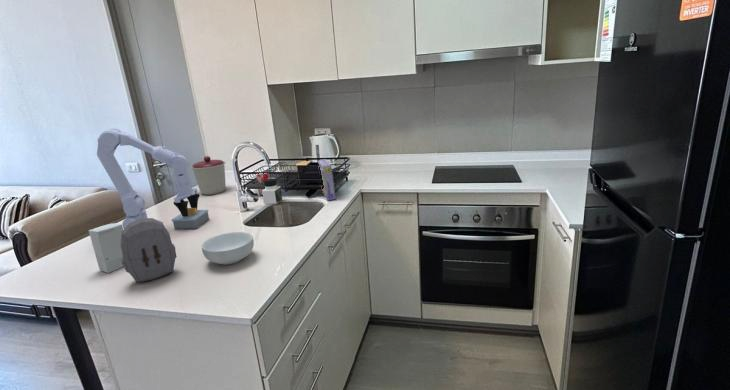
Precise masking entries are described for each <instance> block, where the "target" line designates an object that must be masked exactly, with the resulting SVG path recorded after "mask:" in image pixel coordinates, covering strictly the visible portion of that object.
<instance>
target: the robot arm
mask: <svg viewBox="0 0 730 390" xmlns="http://www.w3.org/2000/svg"><path fill="white" fill-rule="evenodd" d="M119 146H120V147H123V146H132V147H133V148H136V149H138V150H141V151H142V152H146V153H148V154H150V156H151V158H152V159H154V160H156V161H159V162H161V163H162V164H165V165H167V166H170V168H171V169H172V170H173V176H174V179H175V180H174V181H175V184H176V189H177V195H176V196H175V197H174V198H173V199H174V201H173V205H174V206H175V207H176V208H177V210H179V212H180V214H182V216H183V217H187V216H188V209H187V208H188V205H189V206H190V208H196V209H197V210H198V205H199V204H198V203H199V198H200V193H198V189H197V188H193V187H192V181H191V177H190V173H189V169H188V166H187V165H188V164H187V163H188V161H187V158H186V157H185V156H184V155H183V154H181V153H178V152H176V151H175V152H173V151H171V150H169V149H167V147H166V146H164V145H162V146H161V145H158V146H154V145H151V144H150V143H148V142H146V141H144V140H142V139H140V138H139V137H136V136H134V135H132V134H130V133H127V132H126V131H121V130H120V129H118V128H110V129H108V130H104V131H103V132H101V134H100V135H99V136H98V138H97V150H96V151H97V152H96V156H97V158H98V160H99V161H100V163H101V165H102V167H103V169H105V172H106V174H107V175H108V177H109V178H110V180H111V182H112V184H113V185H114V187H115V189H116V190H117V192H118V194H119V195H120V202H121V203H122V208H123V212H124V214H125V215H126V217H125V219H124V220H122V222H121V224H122V227H123V230H124V229H125V228H126V226H127V225H128V224H129V223H131V222H134V221H136V220H138V219H141V218H148V214H147V211H146V209H144V207H145V204H146V203H145V199H144V198H142V197H141V196H140V195H139V194H138V192H137V191H136V190H134V189H133V187H132V185H131V183H130V182H129V180H128V178H127V176H126V174H125V172H124V171H123V169H122V167H121V165H120V164H119V162H118V160H117V159H116V156H115V152H116V150H117V148H118V147H119ZM185 199H187V200H185Z"/></svg>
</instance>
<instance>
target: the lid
mask: <svg viewBox="0 0 730 390" xmlns="http://www.w3.org/2000/svg"><path fill="white" fill-rule="evenodd" d="M187 209H188V216H187V217H183V216H182V214H181V213H180V214H178V215H176V216H175V217H174V218H172V219H171V222H173V221H192V220H196V219H198V218H199V217H201V216H202V215H204V214H205V213H207V212H208V213H209V209H198V208H197V209H196V208H191V207H187Z"/></svg>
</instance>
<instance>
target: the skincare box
mask: <svg viewBox="0 0 730 390" xmlns="http://www.w3.org/2000/svg"><path fill="white" fill-rule="evenodd" d="M123 230H124V229H123V225H122V223H115V222H111V223H108V224H104V225H101V226H98V227H95V228H92V229H89V230H88V233H89V237H90V241H91V244H92V247H93V250H94V254H95V258H96V262H97V266H98V268H99V271H101V272H104V273H106V274H110V273H112V272H114V271H117V270H119V269H121V268H123V267H124V266H123V265H122V260H121V258H122V257H123V254H122V250H121V245H120V244H121V236H122V233H121V232H122V231H123ZM124 268H125V267H124Z"/></svg>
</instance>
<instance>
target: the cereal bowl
mask: <svg viewBox="0 0 730 390" xmlns="http://www.w3.org/2000/svg"><path fill="white" fill-rule="evenodd" d="M254 244H255V241H254V236H253V235H252V234H251V233H249V232H246V231H234V232H232V231H231V232H227V233H226V232H225V233H221V234H218V235H215V236H212V237H210V238H208V239H206V240H205V241H203V242H202V244H201V251H202V252H201V253H202V254H203V257H204V258H205V259H206V260H207V261H208V262H210V263H213V264H219V265H223V266H224V265H228V266H229V265H232V264H236V263H239V262H240V261H241V260H243V259H244V258H246V257H247V256H248V255H250V254H251V253H252V250H253V248H254Z"/></svg>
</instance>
